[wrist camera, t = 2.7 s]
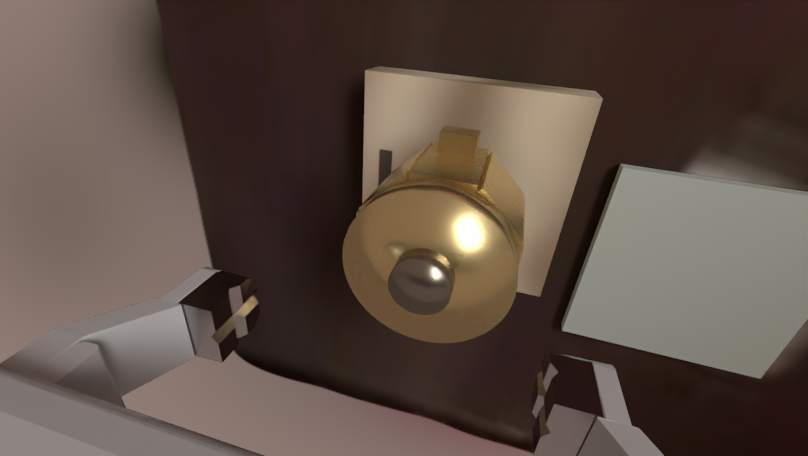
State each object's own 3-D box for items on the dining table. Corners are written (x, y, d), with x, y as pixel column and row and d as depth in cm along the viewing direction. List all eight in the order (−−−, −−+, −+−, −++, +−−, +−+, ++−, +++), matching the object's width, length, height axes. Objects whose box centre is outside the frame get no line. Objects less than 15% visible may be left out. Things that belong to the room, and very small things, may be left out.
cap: (540, 135, 14) (547, 196, 9) (501, 290, 18) (491, 395, 13) (394, 115, 16) (329, 158, 10) (385, 263, 19) (334, 349, 14)
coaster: (882, 203, 16) (894, 209, 15) (754, 370, 20) (760, 378, 20) (620, 163, 18) (623, 167, 17) (561, 323, 23) (561, 330, 22)
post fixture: (595, 91, 17) (641, 136, 10) (539, 275, 22) (543, 390, 15) (379, 66, 19) (295, 89, 12) (373, 239, 24) (310, 325, 17)
